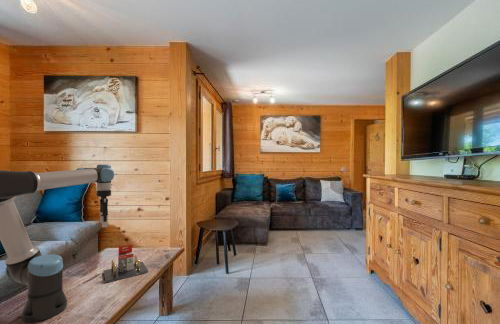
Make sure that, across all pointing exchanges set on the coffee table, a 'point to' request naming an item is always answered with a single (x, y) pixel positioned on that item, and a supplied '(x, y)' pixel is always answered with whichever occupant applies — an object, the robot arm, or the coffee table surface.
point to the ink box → (125, 259)
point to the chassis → (115, 275)
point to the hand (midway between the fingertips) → (103, 224)
